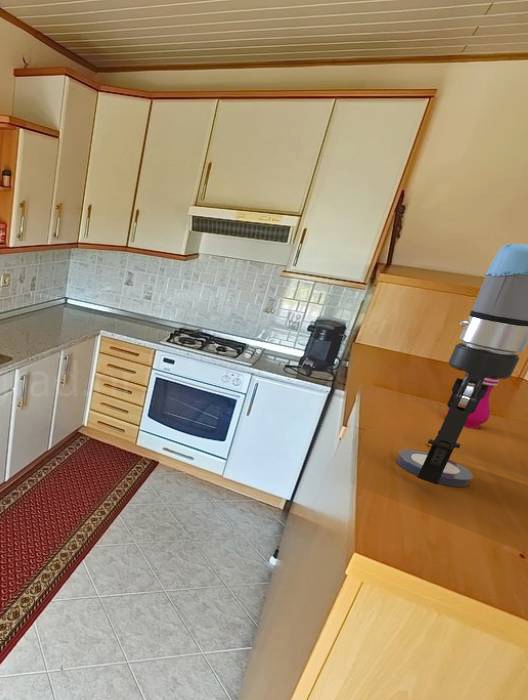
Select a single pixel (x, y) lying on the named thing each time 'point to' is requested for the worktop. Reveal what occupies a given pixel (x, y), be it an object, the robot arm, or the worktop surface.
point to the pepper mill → (482, 406)
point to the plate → (450, 476)
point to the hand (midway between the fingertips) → (427, 479)
